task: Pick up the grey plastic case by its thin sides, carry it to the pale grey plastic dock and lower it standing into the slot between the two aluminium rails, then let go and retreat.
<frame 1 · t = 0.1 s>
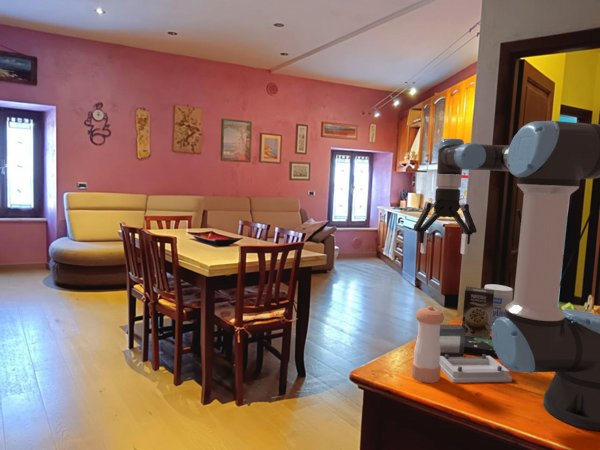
hand: (443, 253, 147), 28 cm above the sideboard top, fingers open, 13 cm apart
salt shaker: (425, 377, 120), on the sideboard top
dark cardboard box: (475, 337, 152), on the sideboard top
supplement tub: (494, 327, 162), on the sideboard top
disk drive: (477, 351, 141), on the sideboard top
dock: (471, 372, 124), on the sideboard top
grey plastic case: (444, 356, 134), on the sideboard top
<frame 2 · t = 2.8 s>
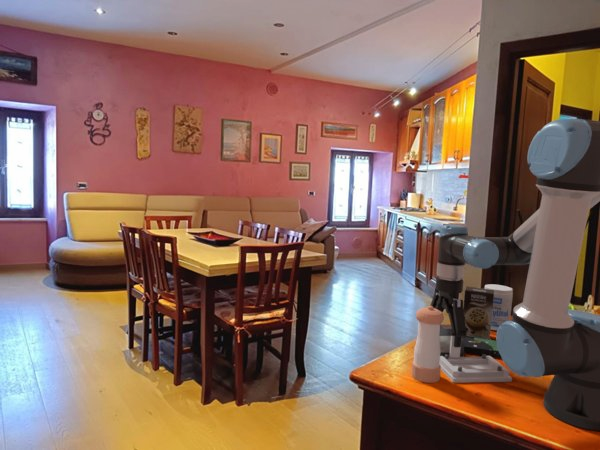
hand: (444, 347, 134), 2 cm above the sideboard top, fingers open, 13 cm apart
nothing on the sideboard top moved.
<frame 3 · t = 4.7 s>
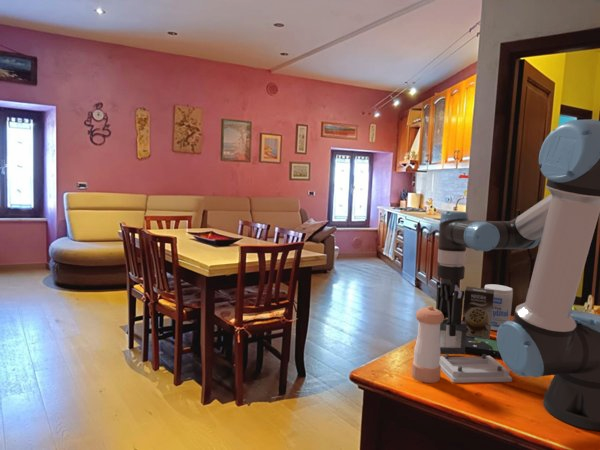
hand: (446, 343, 133), 4 cm above the sideboard top, fingers closed on grey plastic case, 4 cm apart
grey plastic case: (445, 351, 133), point 2 cm above the sideboard top, touching gripper
everything else where it was.
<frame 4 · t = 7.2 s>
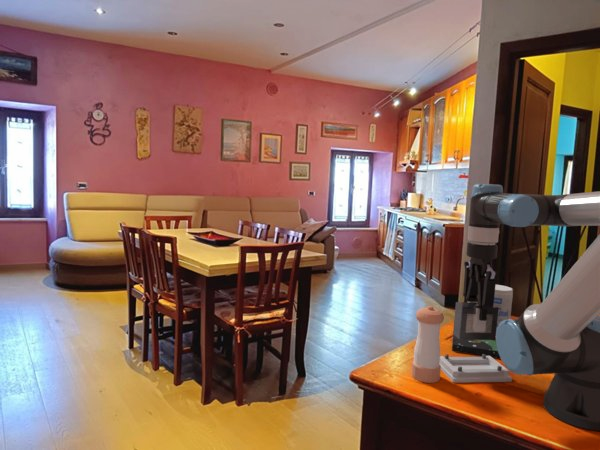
hand: (475, 327, 122), 12 cm above the sideboard top, fingers closed on grey plastic case, 4 cm apart
grey plastic case: (473, 336, 123), point 10 cm above the sideboard top, touching gripper
everything else where it was.
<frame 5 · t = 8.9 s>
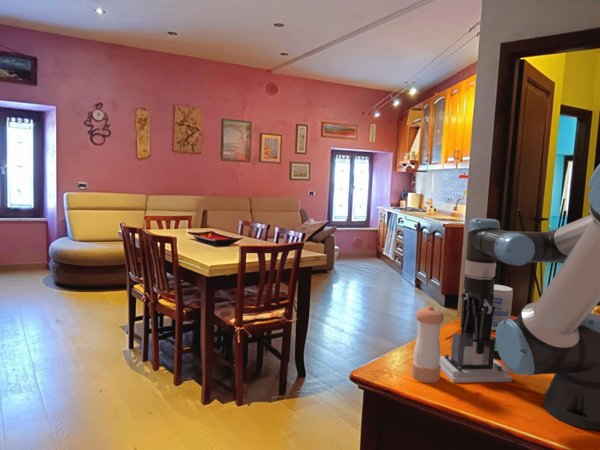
hand: (472, 360, 123), 3 cm above the sideboard top, fingers closed on grey plastic case, 4 cm apart
grey plastic case: (471, 368, 124), point 1 cm above the sideboard top, touching dock, gripper
everything else where it was.
when the fingers open (3 cm above the sideboard top, at t = 9.4 s): grey plastic case stays where it is, resting on dock.
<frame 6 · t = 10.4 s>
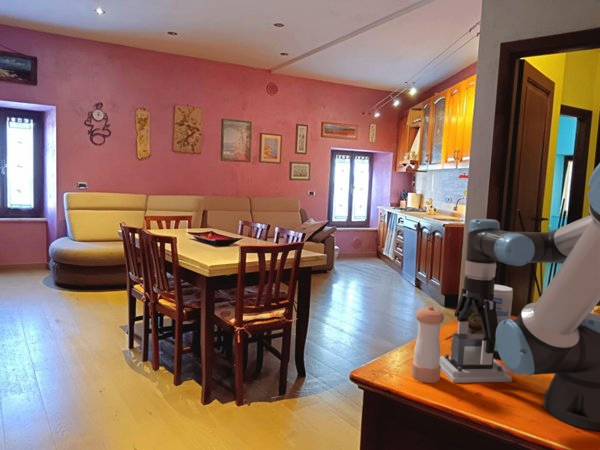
hand: (473, 353, 123), 5 cm above the sideboard top, fingers open, 13 cm apart
grey plastic case: (471, 368, 124), point 1 cm above the sideboard top, touching dock
everything else where it was.
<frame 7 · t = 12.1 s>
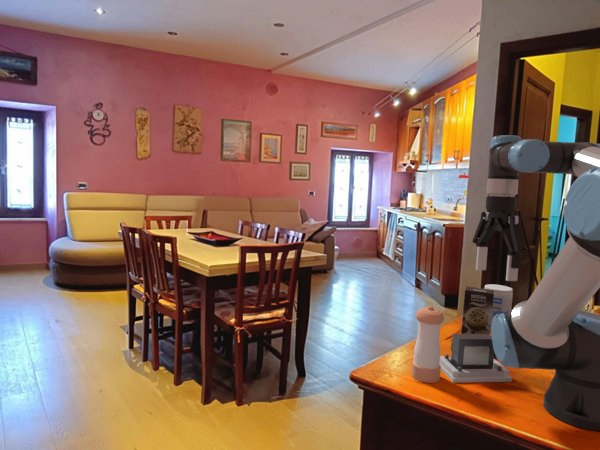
hand: (495, 275, 121), 27 cm above the sideboard top, fingers open, 13 cm apart
nothing on the sideboard top moved.
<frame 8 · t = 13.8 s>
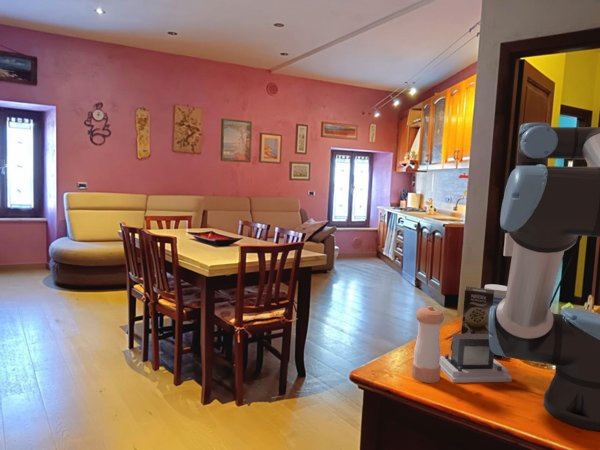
hand: (522, 260, 124), 31 cm above the sideboard top, fingers open, 13 cm apart
nothing on the sideboard top moved.
at the end: grey plastic case inside the target area on the dock (0.2 cm from its centre), point 1.0 cm above the dock's base; grey plastic case tilted 0°; the gripper is holding nothing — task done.
